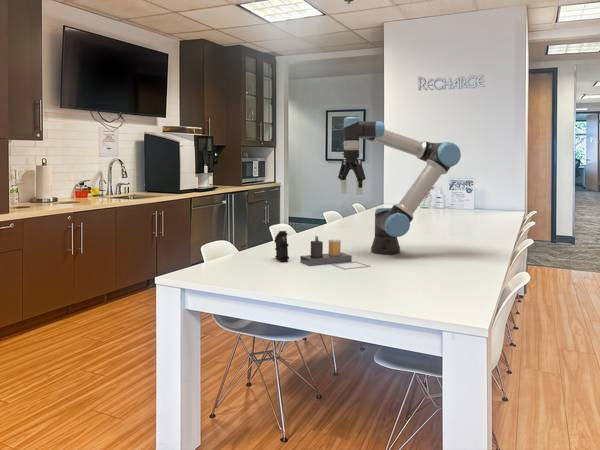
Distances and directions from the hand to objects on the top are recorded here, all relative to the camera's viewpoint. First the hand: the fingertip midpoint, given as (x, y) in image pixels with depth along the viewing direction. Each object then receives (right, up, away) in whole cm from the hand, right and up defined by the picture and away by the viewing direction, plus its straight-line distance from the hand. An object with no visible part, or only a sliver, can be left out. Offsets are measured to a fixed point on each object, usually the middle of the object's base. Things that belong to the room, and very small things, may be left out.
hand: (351, 194), depth 251 cm
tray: (-2, -34, -20) cm, 40 cm away
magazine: (-34, -33, -7) cm, 47 cm away
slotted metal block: (-13, -33, -13) cm, 38 cm away
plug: (-9, -32, -11) cm, 35 cm away
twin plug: (-17, -32, -15) cm, 40 cm away
